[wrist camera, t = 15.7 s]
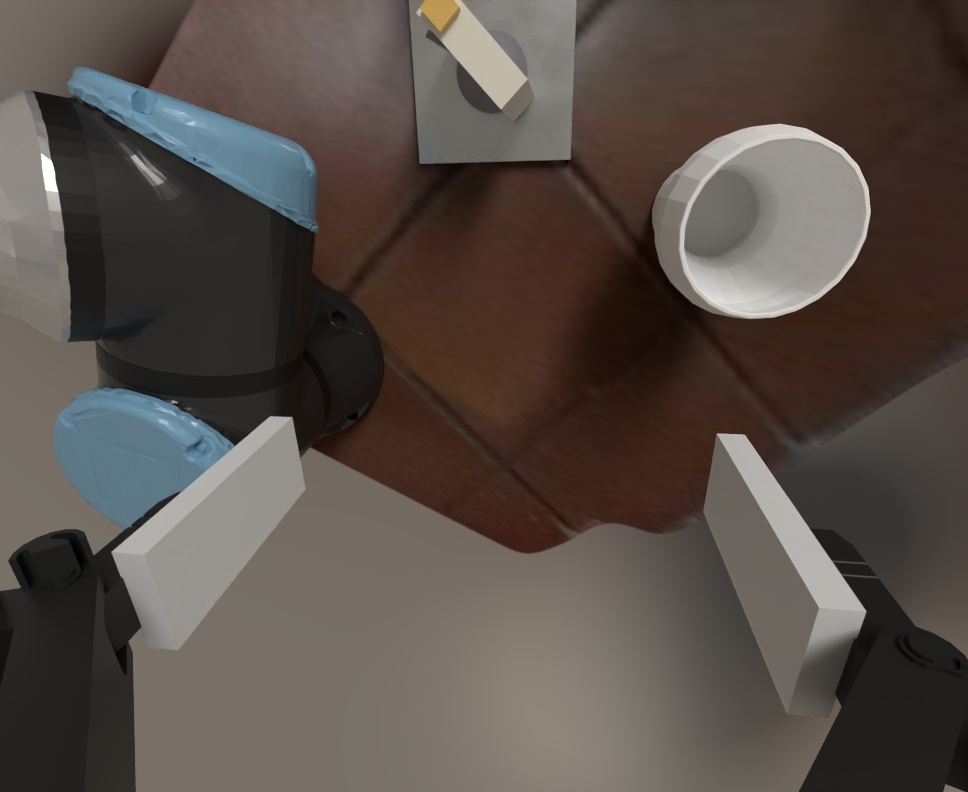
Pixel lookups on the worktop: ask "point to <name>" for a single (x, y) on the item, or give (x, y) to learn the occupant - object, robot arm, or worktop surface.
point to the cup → (761, 221)
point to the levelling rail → (494, 136)
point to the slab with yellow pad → (481, 58)
